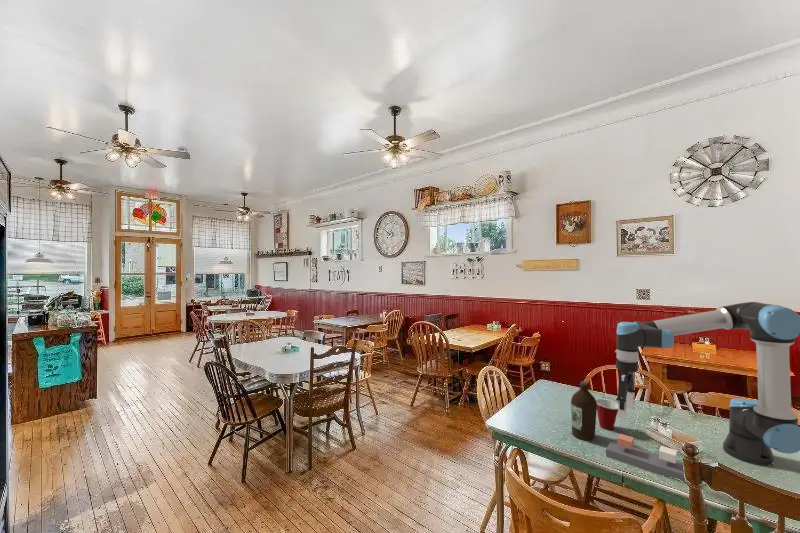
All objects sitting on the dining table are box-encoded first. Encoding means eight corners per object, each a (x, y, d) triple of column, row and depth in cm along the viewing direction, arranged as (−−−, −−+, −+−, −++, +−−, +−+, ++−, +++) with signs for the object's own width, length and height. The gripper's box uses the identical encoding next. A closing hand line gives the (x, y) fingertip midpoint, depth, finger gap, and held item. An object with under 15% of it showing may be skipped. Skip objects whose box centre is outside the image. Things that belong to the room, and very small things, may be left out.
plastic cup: (621, 434, 164) (622, 409, 164) (594, 429, 169) (595, 404, 169) (618, 424, 174) (619, 400, 174) (593, 420, 179) (594, 396, 178)
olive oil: (585, 429, 169) (586, 377, 169) (601, 440, 159) (603, 385, 158) (565, 431, 167) (566, 378, 167) (581, 442, 157) (582, 386, 156)
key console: (688, 471, 136) (688, 464, 136) (686, 483, 128) (686, 475, 128) (611, 446, 153) (611, 440, 153) (605, 456, 146) (605, 449, 146)
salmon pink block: (633, 444, 146) (634, 437, 146) (631, 449, 142) (631, 442, 142) (619, 440, 149) (619, 433, 149) (617, 445, 145) (617, 437, 145)
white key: (676, 458, 136) (677, 450, 136) (675, 463, 132) (675, 455, 132) (660, 453, 140) (660, 445, 139) (658, 458, 136) (659, 450, 136)
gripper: (623, 352, 156) (621, 401, 157) (609, 364, 139) (607, 418, 139) (643, 356, 151) (642, 406, 152) (631, 368, 134) (630, 425, 134)
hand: (625, 412), depth 146 cm, fingers open, 12 cm apart
